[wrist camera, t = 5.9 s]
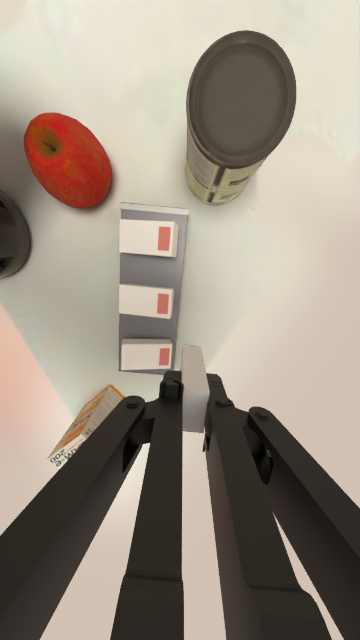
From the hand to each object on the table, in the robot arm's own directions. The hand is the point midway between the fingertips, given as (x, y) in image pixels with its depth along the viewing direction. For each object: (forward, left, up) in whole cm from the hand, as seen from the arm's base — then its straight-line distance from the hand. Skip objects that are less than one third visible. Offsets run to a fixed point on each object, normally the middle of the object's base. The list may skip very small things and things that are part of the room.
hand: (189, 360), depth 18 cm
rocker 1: (-6, +11, -17) cm, 21 cm away
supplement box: (-15, -22, -22) cm, 35 cm away
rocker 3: (-6, -7, -17) cm, 19 cm away
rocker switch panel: (-6, +2, -22) cm, 23 cm away
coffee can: (+3, +23, -22) cm, 32 cm away
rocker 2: (-6, +2, -17) cm, 18 cm away
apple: (-18, +20, -22) cm, 35 cm away
